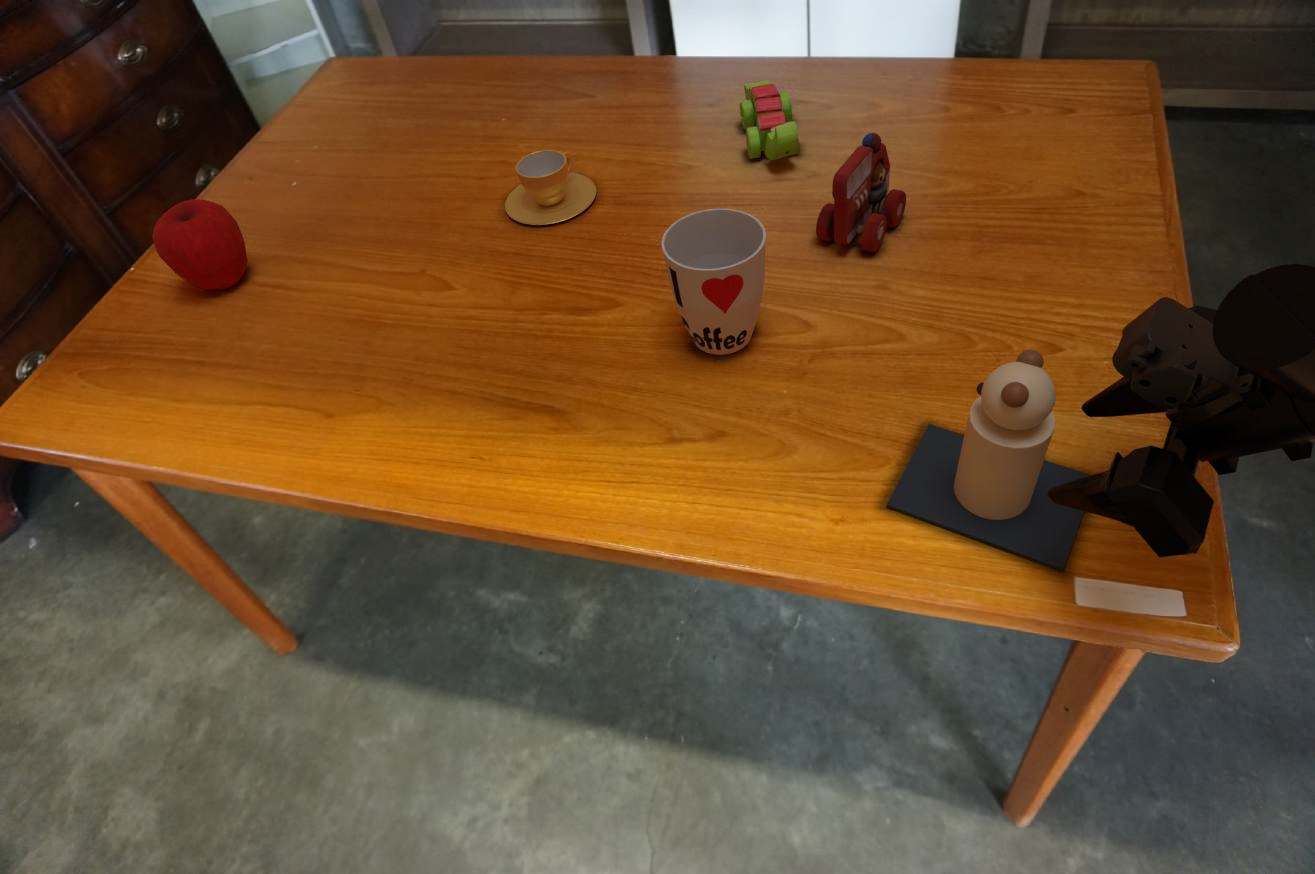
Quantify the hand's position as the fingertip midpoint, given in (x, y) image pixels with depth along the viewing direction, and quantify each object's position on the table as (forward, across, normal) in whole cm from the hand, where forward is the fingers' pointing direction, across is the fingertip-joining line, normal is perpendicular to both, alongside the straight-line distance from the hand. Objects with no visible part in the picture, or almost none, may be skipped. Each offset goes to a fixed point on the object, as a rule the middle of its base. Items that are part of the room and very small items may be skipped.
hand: (1068, 452), depth 62 cm
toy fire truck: (+26, -30, -15) cm, 42 cm away
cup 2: (+30, -8, -19) cm, 36 cm away
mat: (+8, 0, +2) cm, 9 cm away
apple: (+74, +8, -64) cm, 98 cm away
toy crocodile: (+39, -45, -28) cm, 66 cm away
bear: (+8, 0, +2) cm, 8 cm away
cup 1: (+53, -22, -43) cm, 71 cm away
